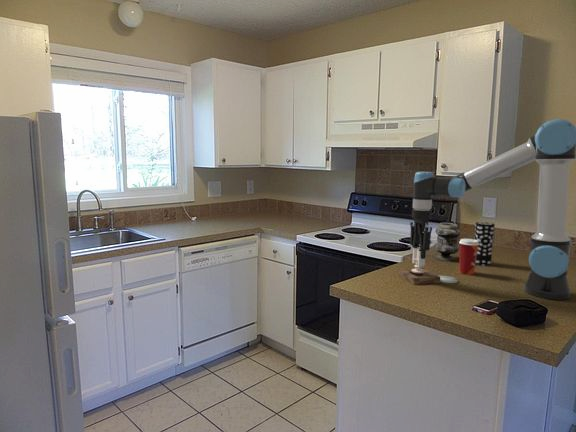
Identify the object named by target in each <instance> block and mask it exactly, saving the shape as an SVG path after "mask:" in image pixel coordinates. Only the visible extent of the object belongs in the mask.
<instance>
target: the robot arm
mask: <svg viewBox="0 0 576 432" xmlns="http://www.w3.org/2000/svg"><path fill="white" fill-rule="evenodd" d="M575 160H576V125H574V123H572V122H571V121H569V120H566V119H559V118H557V119H552V120H549V121H546V122H544V123H543V124H542V125H541V126H540V127H538V129H537V131H536V133H535V135H533V136H530V137H529V138H528V140H527V142H524V143H522V144H520V145H518V146H515V147H514V148H512V149H510V150H508V151H506V152H503V153H502V154H499V155H498V156H495V157H493V158H491V159H488V160H487V161H484V162H483V163H480V164H479V165H475V166H474V167H472V168H470V169H468V170H466V171H464V172H461V173H459V174H457V175H455V176H453V177H436V176H435V173H434V172H432V171H417V172H415V174H414V178H413V194H412V195H413V197H412V210H411V218H412V219H413V221H412V222H410V223H409V224H410V235H409V236H410V237H409V238H410V239H409V241H410V243H409V244H410V246H412V264H416V260H414V258H417V250H418V248H420V250H419V255H418V266H422V267H425V266H426V255H427V254H426V253H427V251H430V248H431V247H430V246H431V237H432V235H431V234H432V231H433V227H432V226H429V220H431V219H432V205H433V196H434V197H446V198H447V197H448V198H454V199H455V198H463V196H464V195H465V193H466V192H467V191H469V190H472V189H473V188H476V187H478V186H481V185H482V184H485V183H487V182H489V181H491V180H492V181H493V180H494V179H496V178H499V177H501V176H503V175H505V174H507V173H508V174H509V173H510V172H512V171H514V170H516V169H519V168H521V167H523V166H526V165H527V164H530V163H532V162H536V163H537V164H538V165H539V178H538V180H539V181H538V196H537V198H538V200H537V202H538V203H537V215H536V217H537V218H536V232H535V233H534V234H532V235H531V237H530V253H529V256H528V258H527V259H528V264H529V266H530V269H531V270H530V271H531V272H530V273H529V276H528V278H527V281H526V282H525V283H524V288H523V289H524V292H526V293H527V294H529V295H532V296H535V297H538V298H543V299H547V300H548V299H549V300H558V301H561V300H569V299H570V298H571V293H572V292H571V291H572V290H571V289H570V287H569V286H570V285H569V281H568V271H569V270H568V269H569V266H570V256H571V255H570V253H571V248H572V239H571V238H570V236H568V235H567V234H566V227H567V211H568V196H569V194H568V193H569V181H570V179H569V178H570V165H571V164H572V163H573V162H574V161H575Z"/></svg>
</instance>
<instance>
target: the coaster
mask: <svg viewBox="0 0 576 432" xmlns="http://www.w3.org/2000/svg"><path fill="white" fill-rule="evenodd" d="M438 276H439V277H440V283H442V284H443V283H444V284H456V283H458V282H459V279H458V278H456V277H455V276H449V275H438Z"/></svg>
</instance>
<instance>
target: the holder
mask: <svg viewBox="0 0 576 432" xmlns="http://www.w3.org/2000/svg"><path fill="white" fill-rule="evenodd" d="M421 269H422V270H424V273H414V272H412V269H401V270H399V277H401V278H403V279H404V280H405V281H407V282H409V283H411V284H412V285H426V284H427V283H428V284H440V283H441V282H440V277H439V276H440V275H437V274H436V273H433V272H431V271H429V270H427V269H425V268H421ZM428 284H427V285H428Z"/></svg>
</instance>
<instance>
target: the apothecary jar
mask: <svg viewBox="0 0 576 432" xmlns="http://www.w3.org/2000/svg"><path fill="white" fill-rule="evenodd" d="M435 233H436V235H437V239H436V243H435V244H434V245H433V249H434V250H435V251H436V252H437V253H440V254H439V255H435V257H434V258H435V259H436V260H440V261H446V262H447V261H448V262H449V261H450V262H452V261H457V260H456V257H455V256H453V254H457V253H458V252H460V246H458V237H459V236H460V235H461V231H460V229H459V228H458V224H456V223H453V222H440V223H439V226H438V227H437V228H435Z"/></svg>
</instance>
